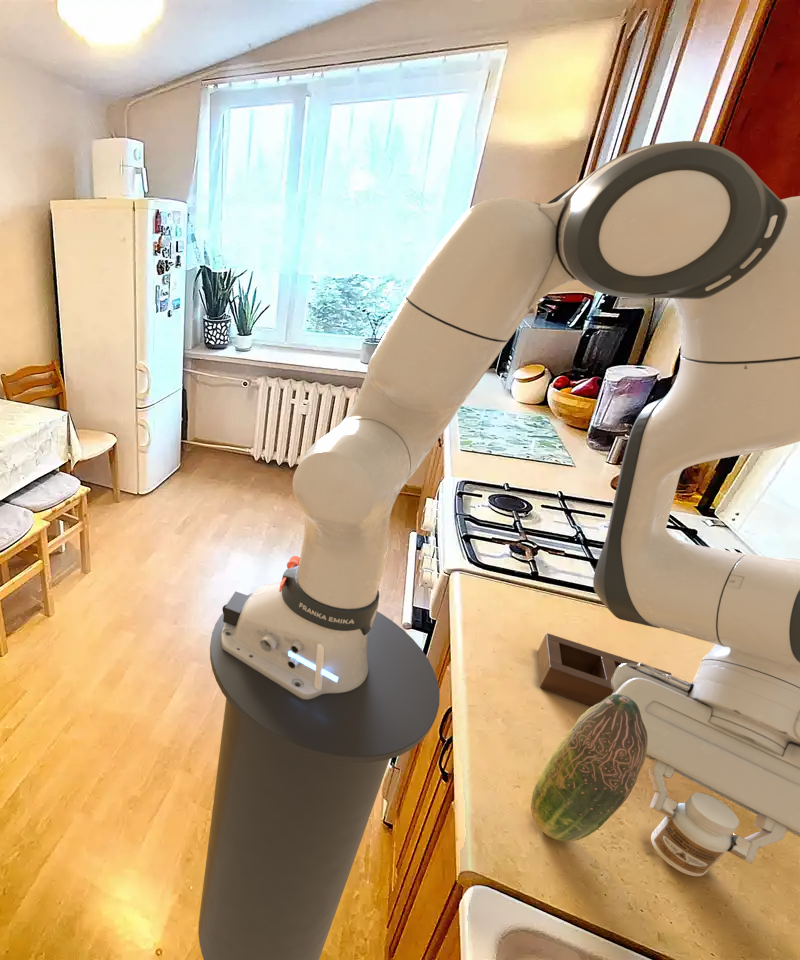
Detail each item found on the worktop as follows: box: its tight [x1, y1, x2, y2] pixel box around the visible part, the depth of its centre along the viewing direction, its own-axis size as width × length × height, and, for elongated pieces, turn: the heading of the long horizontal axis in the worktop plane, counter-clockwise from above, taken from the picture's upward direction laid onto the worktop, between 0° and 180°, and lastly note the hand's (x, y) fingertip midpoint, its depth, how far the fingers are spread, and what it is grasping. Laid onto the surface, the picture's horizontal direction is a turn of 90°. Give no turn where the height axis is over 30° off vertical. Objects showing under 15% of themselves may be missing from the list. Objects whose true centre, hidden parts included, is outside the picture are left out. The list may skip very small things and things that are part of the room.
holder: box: [536, 632, 673, 707], centre depth 73 cm, size 8×14×4 cm, turn 59°
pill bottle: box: [650, 792, 740, 877], centre depth 52 cm, size 4×4×8 cm
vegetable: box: [530, 694, 648, 842], centre depth 52 cm, size 6×6×20 cm
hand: (698, 834), depth 52 cm, fingers closed on pill bottle, 4 cm apart
